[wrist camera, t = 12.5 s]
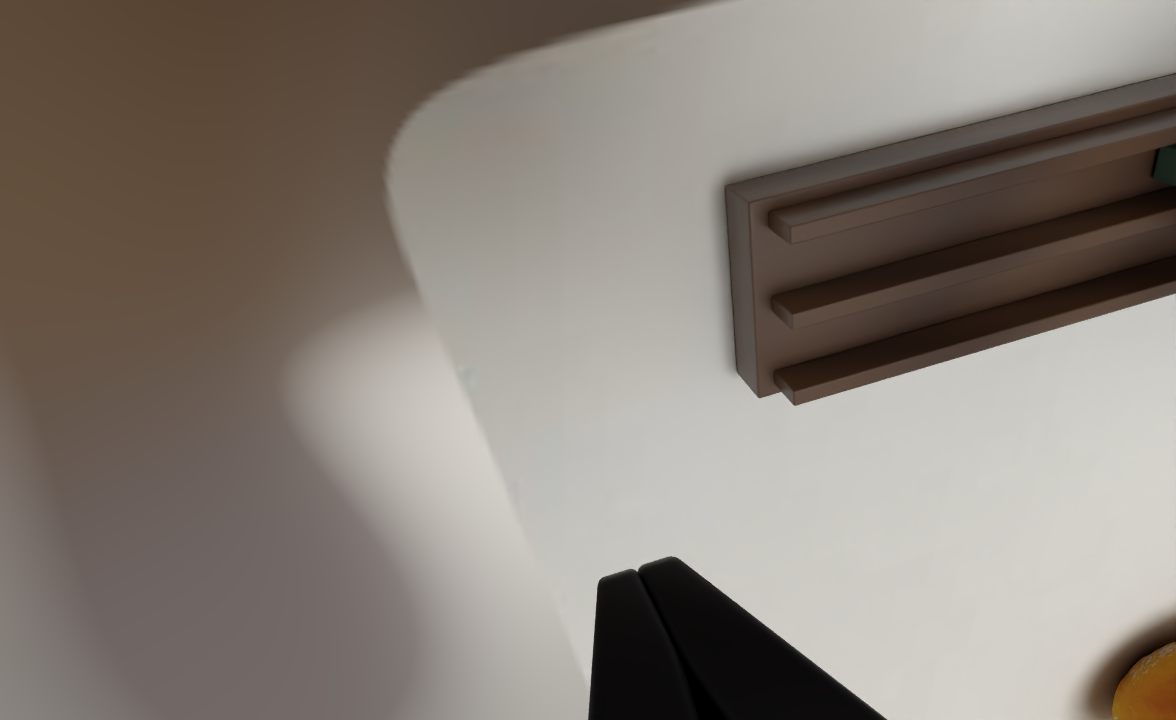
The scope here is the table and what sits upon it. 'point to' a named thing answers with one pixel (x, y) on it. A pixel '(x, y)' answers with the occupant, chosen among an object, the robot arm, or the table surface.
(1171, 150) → the sash
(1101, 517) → the table surface
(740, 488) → the table surface
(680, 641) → the robot arm
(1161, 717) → the fruit
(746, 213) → the frame display rack
